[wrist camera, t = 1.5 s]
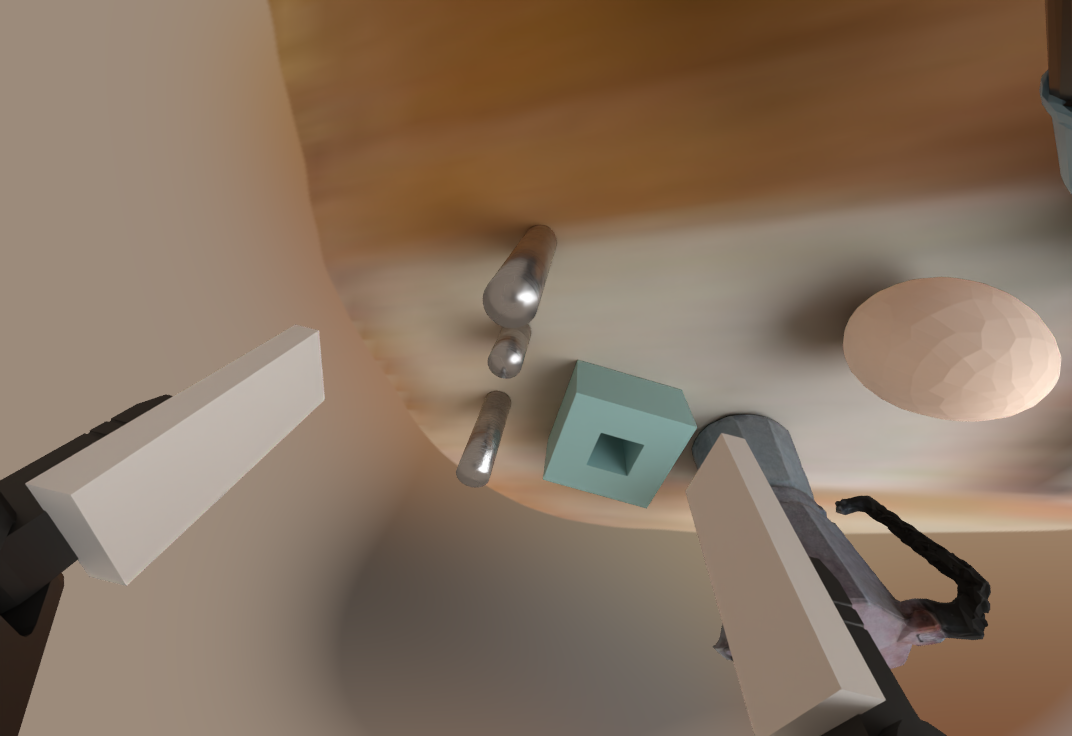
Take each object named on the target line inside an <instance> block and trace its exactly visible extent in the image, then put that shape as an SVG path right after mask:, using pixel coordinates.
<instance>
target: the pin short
mask: <svg viewBox="0 0 1072 736" xmlns="http://www.w3.org/2000/svg"><path fill="white" fill-rule="evenodd" d="M530 337H531V328H530V326H529V324H526V325H524V326H522V327H519V328H506V327H503V328H502V330H501V332H500V334H499V336H498V338H497V340H496V342H495V344H494V347H493V349H492V351H491V353H490V355H489V357H488V366H489V369H490V370H491V372H492V373H493V374H495V375H496V376H498V377H500V378H512V377H514V376H516V375H517V374H518V373H519V372H520V370H521V367H522V364H523V361H524V357H525V354H526V350H527V347H528V344H529V340H530Z"/></svg>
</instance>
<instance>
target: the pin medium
mask: <svg viewBox="0 0 1072 736" xmlns="http://www.w3.org/2000/svg"><path fill="white" fill-rule="evenodd" d="M510 407H511V400H510V398H509V396H508V395H507V394H505V393H504V392H501V391H493V392H490V393H489V394H488V395H487V396H486V399H485V401H484V403H483V406H482V408H481V411H480V413H479V416H478V418H477V421H476V423H475V426H474V428H473V431H472V433H471V435H470V438H469V440H468V443H467V445H466V448H465V450H464V453H463V455H462V458H461V460H460V463H459V465H458V467H457V470H456V475H457V478H458V479H459V480H460V482H462V483H463V484H465V485H467V486H470V487H482V486H484V485H486V484H487V483H488V481H489V478H490V475H491V471H492V468H493V465H494V461H495V458H496V454H497V451H498V447H499V444H500V441H501V437H502V434H503V430H504V427H505V424H506V420H507V417H508V413H509V410H510Z"/></svg>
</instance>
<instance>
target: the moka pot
mask: <svg viewBox="0 0 1072 736" xmlns="http://www.w3.org/2000/svg"><path fill="white" fill-rule="evenodd" d="M721 433H724V434H728V435H732V436H736V437H739V438H743V439H745V440H746V442H747V444H748V446H749V448H750V449H751V451H752V453H753V455H754V457H755V459H756V461H757V462H758V464H759V466H760V468H761V470H762V472H763V474H764V475H765V477H766V479H767V481H768V483H769V485H770V486H771V488H772V490H773V492H774V494H775V496H776V498H777V499H778V501H779V503H780V505H781V507H782V509H783V511H784V512H785V514H786V516H787V518H788V520H789V522H790V523H791V525H792V527H793V529H794V531H795V533H796V535H797V536H798V538H799V540H800V542H801V544H802V546H803V548H804V549H805V551H806V553H807V555H808V556H810V557H814V558H818V559H820V560H821V561H822V563H823V564H824V565H825V566H826V567H827V568H828V569H829V570H830V572H831V573H832V574H833V575H834V576H835V577H836V578H837V579H838V581H839V582H840V584H841V585H842V587H843V589H844V591H845V592H846V594H847V596H848V598H849V599H850V601H851V603H852V604H853V605H852V608H853V609H855V610H856V611H857V613H858V615H859V616H860V618H861V620H862V622H863V623H864V629H865V630H868V632H869V634H870V635H871V637H872V639H873V641H874V642H875V644H876V646H877V647H878V649H879V651H880V653H881V654H882V656H883V658H884V659H885V661H886V663H887V665H888V666H889V668H890V669H891V668H895V667H898V666H901V665H904V663H905V662H906V660H907V658H908V654H909V652H910V650H911V646H912V645H917V646H921V645H929V644H935V643H941V642H942V641H943V640H945V638H956V639H969V640H978V639H983V637H984V629H985V627H987V626H988V623H987V621H986V620H985V614H984V613H989V610H990V603H989V601H988V597H989V595H990V593H991V591H990V585H989V583H988V582H987V581H986V580H985V579H984V578H983V577H982V576H981V575H980V574H979V573H978V572H977V571H976V570H975V569H974V568H973V567H972V566H971V565H969V564H968V563H967V562H965V561H964V560H961V559H959V558H958V557H956V556H955V555H954V554H953V553H950V552H949V551H948V550H947V549H945V548H944V547H942V546H940V545H939V544H937V543H935V542H934V541H932V540H931V539H929V538H928V537H926V536H925V535H924V534H922V533H921V532H919V531H918V530H917V529H916V528H915V527H913V526H912V525H910V524H908V523H906V522H904V521H902V520H901V519H900V518H899V517H898V515H896V514H895V513H893V512H891V511H889V510H887V509H886V507H884V506H883V505H880V504H879V503H878V502H877V501H876V500H874V499H873V498H871V497H870V496H857V497H853V498H848V499H842V500H841V501H836V503H835V504H836V512H837V513H840V514H843V515H847V514H850V513H853V512H857V511H861V512H866V513H867V514H868V515H869V516H870V517H872V518H873V519H874V520H876V521H878V522H880V523H882V524H884V525H885V526H887V527H888V529H889V530H890V531H891V532H892V533H893V534H894V535H896V536H897V537H898V538H900V539H901V541H902V542H903V543H905V544H906V545H908V546H910V547H911V548H912V549H913V550H914V551H915V552H916V553H918V554H919V555H921V556H922V557H924V558H925V559H926V560H927V561H928V562H929V563H930V564H931V565H933V566H934V567H936V568H937V569H938V570H939V571H940V572H941V573H942V574H944V575H946V576H947V577H949V578H951V579H953V580H954V581H955V582H956V584H957V585H958V587H957V589H958V590H957V591H958V594H957V598H955V599H954V600H953V601H952V602H949V603H940V602H936V601H932V600H929V599H910V600H905V601H902V602H900V601H898V600H896V599H895V598H894V597H893V596H892V595H891V593H890V592H889V591H888V590H887V589H886V587H885V586H884V585H883V584H882V582H881V581H880V580H879V578H878V577H877V576H876V574H875V573H874V572H873V571H872V570H871V569H870V567H869V566H868V565H867V563H866V562H865V561H864V560H863V558H862V557H861V556H860V555H859V553H858V552H857V551H856V550H855V548H854V547H853V545H852V544H851V543H850V542H849V541H848V539H847V538H846V537H845V535H844V534H843V533H842V531H841V530H840V529H839V528H838V527H837V525H836V524H835V523H833V522H831V521H830V520H829V519H828V518H827V514H826V512H825V510H824V509H823V508H822V507H821V506H819V505H817V503H816V502H815V501H814V497H813V493H812V491H811V488H810V485H809V482H808V479H807V477H806V475H805V472H804V470H803V468H802V466H801V462H800V459H799V457H798V454H797V452H796V449H795V446H794V444H793V441H792V438H791V436H790V434H789V431H788V430H787V429H785V428H784V427H783V426H782V425H780V424H779V423H778V422H776V421H774V420H772V419H769V418H767V417H764V416H760V415H734V416H728V417H726V418H723V419H720V420H719V421H716V422H714V423H712V424H709V425H708V426H707V427H706V428H705V429H704V430H703V431H701V433H700V434H699V436H698V437H697V438H696V440H695V442H694V444H693V447H692V453H693V457H694V460H695V463H696V466H697V469H698V470H699V468H700V467H701V465H702V463H703V462H704V460H705V459H706V457H707V455H708V454H709V452H710V450H711V449H712V447H713V446H714V444H715V442H716V441H717V439H718V438H719V436H720V434H721ZM713 648H714V649H715V650H716V651H717V652H718V653H719V654H721V655H722V656H723V657H724V658H726V659H728V660H732V661H733V658H732V655H731V651H730V648H729V644H728V641H727V637H726V634H725V630H724V626H723V623H722V628H721V634H720V638H719V640H718V642H717V643H716V645H714V646H713Z"/></svg>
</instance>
